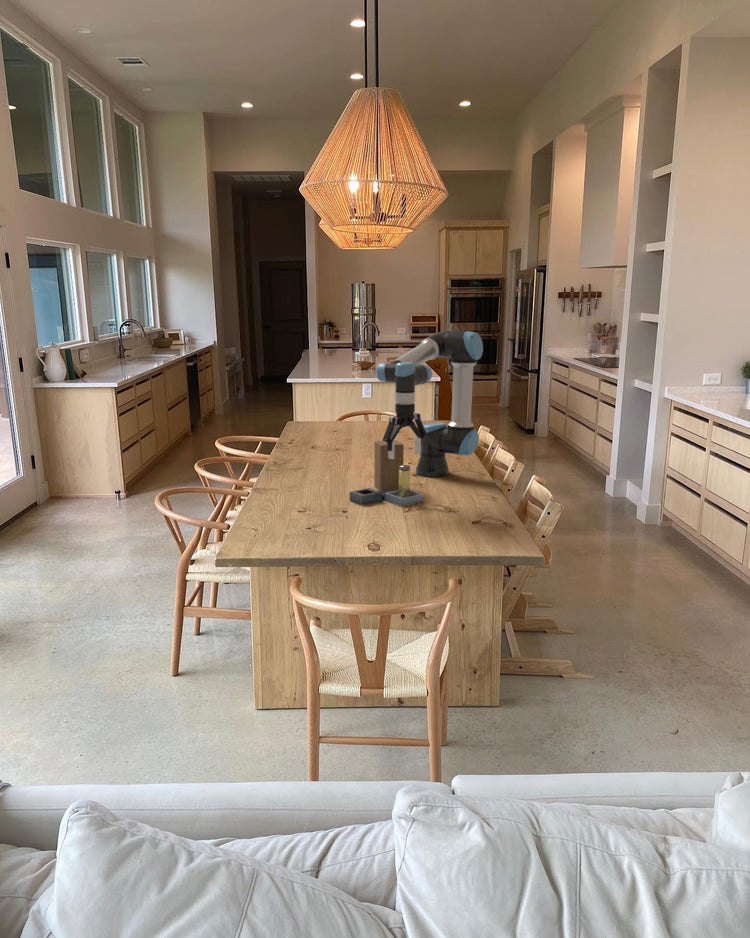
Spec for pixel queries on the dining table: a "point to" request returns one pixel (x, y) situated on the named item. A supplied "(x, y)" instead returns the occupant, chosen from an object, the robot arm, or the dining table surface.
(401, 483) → the pin
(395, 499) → the tray
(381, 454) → the wooden block
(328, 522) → the dining table surface
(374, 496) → the bar
